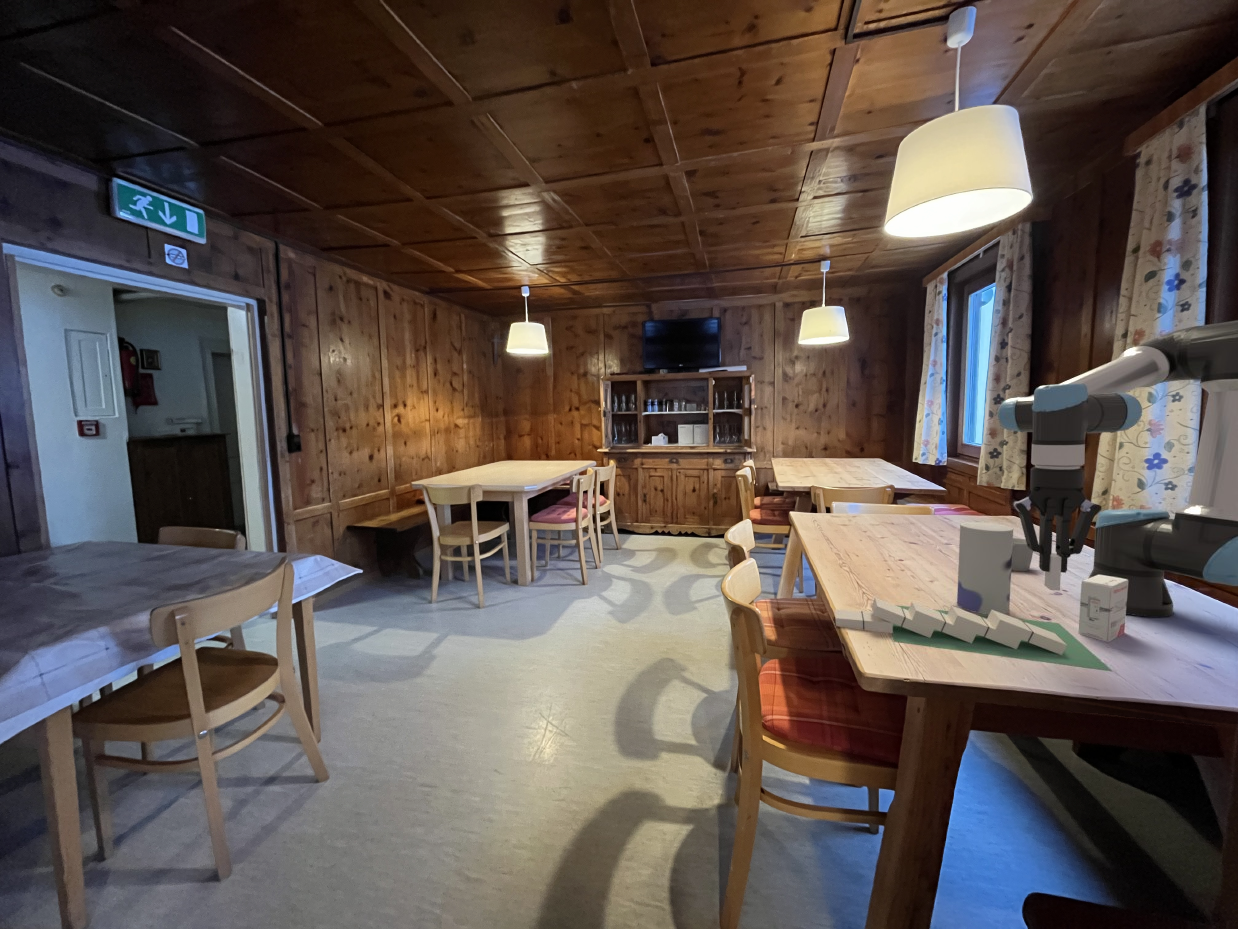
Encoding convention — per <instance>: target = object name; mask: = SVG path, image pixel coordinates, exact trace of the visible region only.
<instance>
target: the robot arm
mask: <svg viewBox="0 0 1238 929" xmlns="http://www.w3.org/2000/svg"><path fill="white" fill-rule="evenodd" d="M1193 380H1199V386H1200V387H1201V388H1202V389H1203V390H1205V391H1206V392H1207V393H1208V397H1207V403H1206V407H1205V411H1204V412H1205V413H1204V418H1203V423H1202V428H1201V434H1200V439H1199V444H1198V450H1197V454H1196V459H1195V460H1196V461H1195V466H1194V471H1193V476H1192V480H1191V486H1190V492H1189V496H1188V501H1187V504H1186V505H1185V506H1183V507H1181V508H1179V509H1177V510H1175V514H1174V518H1171V515H1170V513H1169V511H1167V510H1163V509H1151V508H1146V509H1145V508H1143V509H1142V508H1132V509H1131V508H1127V509H1125V508H1118V509H1106V510H1102V506H1101V505H1100V504H1097V503H1095V502H1092V501H1090V500H1089V499H1087V496H1086V494H1085V493H1084V479H1085V478H1084V476H1085V470H1084V469H1083V468H1082V466H1084V465H1085V459H1086V458H1085V457H1086V456H1085V455H1086V452H1085V450H1086V449H1085V448H1086V434H1099V433H1100V434H1101V433H1110V434H1113V433H1116V432H1122V431H1126V430H1129V429H1131V428H1133V427H1135V426H1136V425H1137V424H1138V423H1139V421H1140V420H1141V419H1142V418H1141V417H1142V416H1143V407H1142V404H1141V402H1140V401H1139V399H1138V398H1136V397H1135V396H1134V395H1132V394H1129V393H1128V392H1131V391H1133V390H1135V389H1138V388H1150V387H1154V386H1157V385H1159V384H1160V383H1168V382H1177V381H1193ZM997 418H998V419H997V420H998V423H999V424H1000V426H1001V427H1002V428H1003V429H1005V430H1007V431H1008V432H1009V431H1010V432H1020V433H1026V432H1027V433H1032V441H1031V458H1030V459H1031V460H1030V462H1031V464H1032V465H1033V467H1031V468H1030V482H1029V483H1030V484H1029V485H1030V489H1029V491H1028V492H1027V494H1026V497H1025V498H1023V499H1021V500H1019V501H1018V500H1014V501H1013V502H1012V503H1011V504H1012V506H1013V509H1015V510H1016V511H1017V513H1018V515H1019V520H1020V524H1021V526H1022V530H1023V531H1022V532H1023V534H1024V539H1026V543H1027V546H1028V548H1030V549H1031V550H1032V551H1033V553H1034V552H1035V553H1038V554H1039V555H1038V556H1039V560H1038V561H1039V562H1038V568H1039V570H1041V571H1042V572H1044V586H1045V587H1046V588H1047V589H1049V590H1050V591H1060V592H1061V576H1062V575H1061V573H1063V574H1064V573H1067V571H1068V560H1069V559H1068V558H1071V555H1080V554H1081V553H1082V551H1083V548H1084V545H1085V542H1086V540H1087V537H1088V535H1089V532H1090V529H1091V526H1092V524H1093V521H1094V518H1095V517H1096V516H1097V518H1096V524H1095V526H1094V530H1095V536H1094V550H1093V551H1094V552H1093V568H1092V571H1091V572H1090V574H1089V575H1088V578H1087V579H1089V578H1091V577H1094V576H1096V575H1105V576H1111V577H1117V578H1123V579H1127V580H1128V592H1127V604H1126V615H1132V616H1136V617H1137V616H1139V617H1147V618H1148V617H1149V618H1165V617H1171V616H1172V615H1173V614H1174V603H1173V599H1172V597H1171V594H1170V591H1169V589H1168V587H1167V584H1166V581H1165V572H1169V573H1173V574H1177V575H1182V576H1186V577H1190V578H1194V579H1199V580H1203V581H1206V582H1208V583H1211V584H1214V583H1215V584H1222V585H1227V586H1233V587H1238V319H1236V320H1231V321H1230V320H1229V321H1225V322H1218V323H1210V324H1203V325H1194V326H1190V327H1186V328H1181V329H1178V330H1174V331H1171V332H1168V333H1166V334H1163V335H1160V336H1158V337H1155V338H1153V339H1150V340H1148V341H1145V342H1143V343H1140V344H1137V345H1135V346H1134V347H1131V348H1128V349H1127V350H1124V351H1123V352H1122V353H1121V354H1120V355H1119V356H1118V358H1117V359H1114V360H1112V361H1110V362H1108V363H1104V364H1103V365H1100V366H1098V367H1096V368H1093V369H1091V370H1088V371H1086V372H1084V373H1081V374H1080V375H1077V376H1075V377H1073V378H1070V379H1068V380H1065V381H1063V382H1061V383H1058V384H1047V385H1040V386H1038V387H1036V388H1035V390H1034V392H1033V394H1031V395H1029V396H1017V397H1013V398H1008V399H1006V400H1004V401H1003V402H1002V403H1001V404H1000V406H999V408H998V410H997ZM1031 505H1032V506H1033V507H1034V508H1035V510H1036V511H1038V518H1039V533H1038V535H1039V536H1037V534H1036V530H1035V526H1034V522H1033V519H1032V514H1031V513H1030V510H1031ZM1079 508H1080V513H1079V515H1078V516H1077V520H1076V522H1075V524H1074V528H1073V531H1072V533H1071V532H1070V531H1071V521H1072V518H1073V517H1072V515H1073V513H1074V512H1075V511H1076V510H1077V509H1079ZM1101 510H1102V511H1101ZM1055 519H1056V522H1055V523H1056V526H1055V527H1056V529H1055V553H1053V551H1052V549H1053V530H1054V528H1053V524H1054V520H1055ZM1070 535H1071V537H1070Z"/></svg>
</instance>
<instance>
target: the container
mask: <svg viewBox="0 0 1238 929" xmlns="http://www.w3.org/2000/svg"><path fill="white" fill-rule="evenodd" d="M1013 538H1014V528H1013V527H1012V526H1008V525H1004V524H1000V523H995V522H994V523H993V522H983V521H967V522H962V523H959V542H958V543H959V545H958V572H957V574H958V575H957V592H956V593H957V595H956V596H957V597H956V604H957V606H960V607H961V608H963V609H964V610H967V611H971V612H974V613H977V614H982V615H989V614H990V612H991V610H994V611H997V612H1000V613H1002V614H1005V615H1008V613H1010V602H1011V585H1012V584H1011V581H1012V570H1011V565H1012V545H1013Z"/></svg>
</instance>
